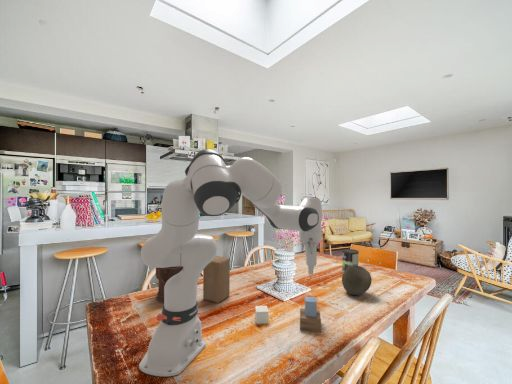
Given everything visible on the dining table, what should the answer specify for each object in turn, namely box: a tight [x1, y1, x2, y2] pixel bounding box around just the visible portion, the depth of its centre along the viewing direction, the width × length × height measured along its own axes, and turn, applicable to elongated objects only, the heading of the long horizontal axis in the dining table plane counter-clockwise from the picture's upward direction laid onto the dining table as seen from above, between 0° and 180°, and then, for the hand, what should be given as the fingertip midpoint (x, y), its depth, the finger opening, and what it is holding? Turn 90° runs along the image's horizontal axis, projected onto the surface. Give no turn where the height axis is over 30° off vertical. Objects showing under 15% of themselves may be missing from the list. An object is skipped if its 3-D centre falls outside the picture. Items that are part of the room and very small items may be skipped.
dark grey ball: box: [341, 264, 372, 296], centre depth 128 cm, size 14×14×15 cm
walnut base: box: [299, 307, 322, 333], centre depth 98 cm, size 8×8×5 cm
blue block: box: [304, 296, 318, 317], centre depth 98 cm, size 4×4×6 cm
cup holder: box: [155, 266, 183, 305], centre depth 122 cm, size 18×24×25 cm
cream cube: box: [254, 305, 269, 325], centre depth 102 cm, size 5×5×5 cm
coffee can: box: [341, 248, 360, 273], centre depth 163 cm, size 10×10×14 cm
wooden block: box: [202, 255, 231, 304], centre depth 122 cm, size 10×10×20 cm
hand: (310, 270), depth 98 cm, fingers open, 8 cm apart
